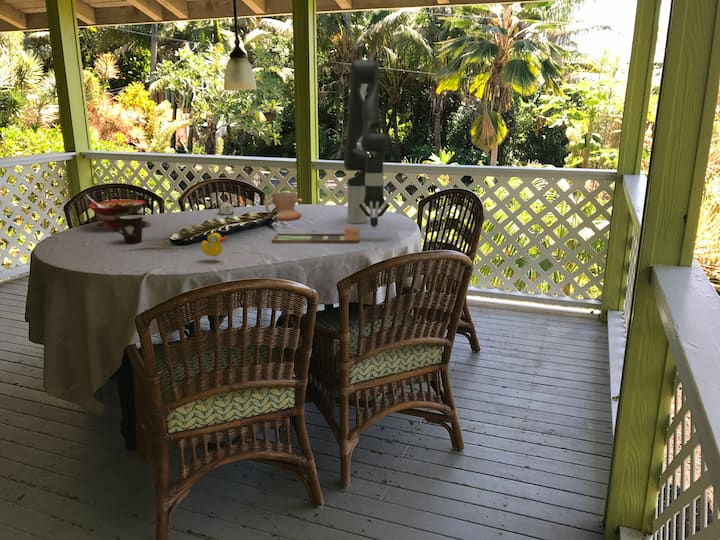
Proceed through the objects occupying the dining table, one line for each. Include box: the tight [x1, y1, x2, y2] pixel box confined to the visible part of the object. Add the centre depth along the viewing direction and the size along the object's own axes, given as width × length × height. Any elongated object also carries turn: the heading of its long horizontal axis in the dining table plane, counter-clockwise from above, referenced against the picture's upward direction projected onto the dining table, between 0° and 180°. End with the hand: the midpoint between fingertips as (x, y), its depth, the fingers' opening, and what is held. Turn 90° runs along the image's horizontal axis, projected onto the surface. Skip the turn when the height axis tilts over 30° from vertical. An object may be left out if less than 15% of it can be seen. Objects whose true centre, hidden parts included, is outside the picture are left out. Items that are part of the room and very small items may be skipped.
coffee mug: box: [111, 214, 143, 244], centre depth 232 cm, size 12×9×10 cm
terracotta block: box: [344, 226, 360, 241], centre depth 237 cm, size 6×6×4 cm
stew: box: [84, 193, 151, 232], centre depth 257 cm, size 28×24×16 cm
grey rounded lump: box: [217, 199, 236, 216], centre depth 285 cm, size 9×8×10 cm
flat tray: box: [271, 233, 360, 244], centre depth 237 cm, size 14×35×1 cm, turn 90°
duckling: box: [200, 232, 227, 257], centre depth 207 cm, size 10×4×8 cm, turn 80°
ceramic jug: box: [264, 191, 303, 222], centre depth 276 cm, size 18×14×14 cm
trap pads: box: [310, 236, 340, 240], centre depth 238 cm, size 12×12×1 cm
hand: (373, 226), depth 236 cm, fingers closed
